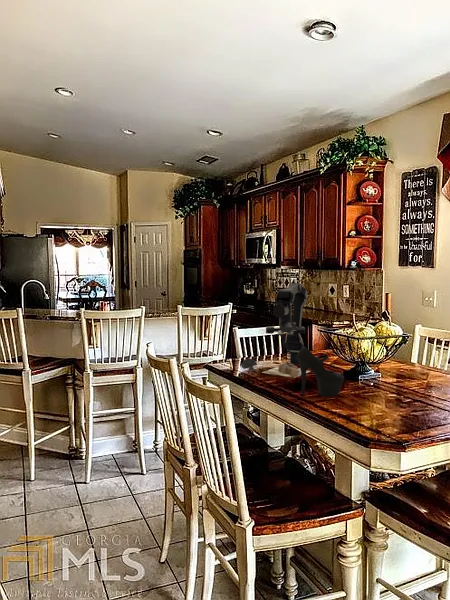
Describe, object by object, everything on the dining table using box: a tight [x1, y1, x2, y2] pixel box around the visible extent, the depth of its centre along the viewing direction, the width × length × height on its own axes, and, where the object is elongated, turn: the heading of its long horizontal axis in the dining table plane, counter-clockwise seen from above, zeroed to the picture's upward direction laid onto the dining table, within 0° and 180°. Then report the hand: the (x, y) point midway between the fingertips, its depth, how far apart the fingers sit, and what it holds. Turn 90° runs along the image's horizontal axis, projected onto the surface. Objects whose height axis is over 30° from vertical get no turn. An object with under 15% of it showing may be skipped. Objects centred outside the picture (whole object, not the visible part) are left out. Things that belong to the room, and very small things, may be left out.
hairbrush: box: [241, 357, 258, 372], centre depth 252 cm, size 8×4×25 cm
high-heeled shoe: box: [297, 346, 345, 398], centre depth 203 cm, size 8×19×20 cm, turn 94°
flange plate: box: [277, 363, 299, 378], centre depth 236 cm, size 14×7×3 cm, turn 13°
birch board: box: [261, 366, 312, 379], centre depth 240 cm, size 16×18×1 cm
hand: (285, 347), depth 244 cm, fingers closed
